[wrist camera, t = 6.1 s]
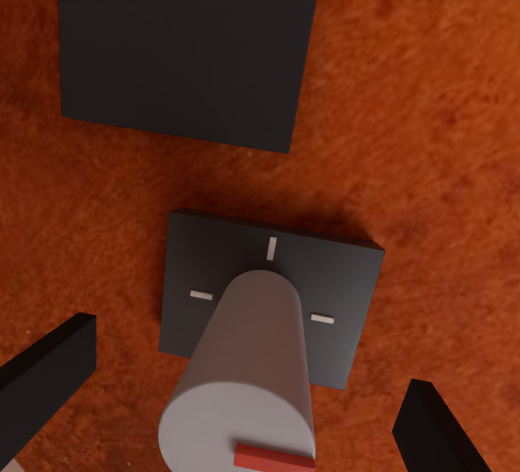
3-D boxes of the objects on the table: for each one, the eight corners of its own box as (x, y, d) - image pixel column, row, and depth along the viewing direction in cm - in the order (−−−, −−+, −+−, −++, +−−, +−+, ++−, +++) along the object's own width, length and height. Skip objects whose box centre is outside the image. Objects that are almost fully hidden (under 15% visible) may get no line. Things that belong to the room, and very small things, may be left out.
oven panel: (170, 334, 21) (157, 353, 19) (181, 207, 18) (167, 212, 16) (339, 369, 20) (345, 392, 18) (374, 241, 17) (386, 251, 15)
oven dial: (219, 333, 18) (149, 500, 9) (226, 263, 17) (154, 374, 8) (293, 347, 17) (300, 534, 8) (307, 276, 16) (332, 408, 7)
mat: (75, 119, 17) (60, 116, 16) (73, -50, 15) (55, -69, 14) (288, 153, 17) (288, 152, 15) (319, -20, 14) (322, -36, 13)
